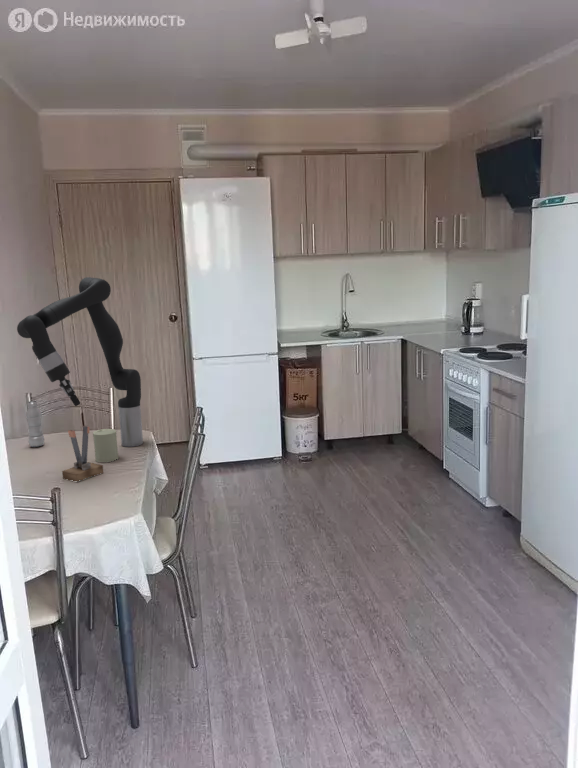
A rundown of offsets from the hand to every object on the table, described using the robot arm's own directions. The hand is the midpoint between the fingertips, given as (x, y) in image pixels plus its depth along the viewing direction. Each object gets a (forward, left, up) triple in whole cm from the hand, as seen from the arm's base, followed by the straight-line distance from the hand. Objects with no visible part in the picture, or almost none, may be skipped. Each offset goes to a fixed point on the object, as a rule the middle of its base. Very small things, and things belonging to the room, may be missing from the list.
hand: (77, 404), depth 232 cm
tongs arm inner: (+3, +1, -23) cm, 23 cm away
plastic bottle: (-35, -35, -27) cm, 56 cm away
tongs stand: (+4, +1, -27) cm, 27 cm away
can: (-16, +3, -27) cm, 32 cm away
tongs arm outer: (+4, +1, -23) cm, 23 cm away
